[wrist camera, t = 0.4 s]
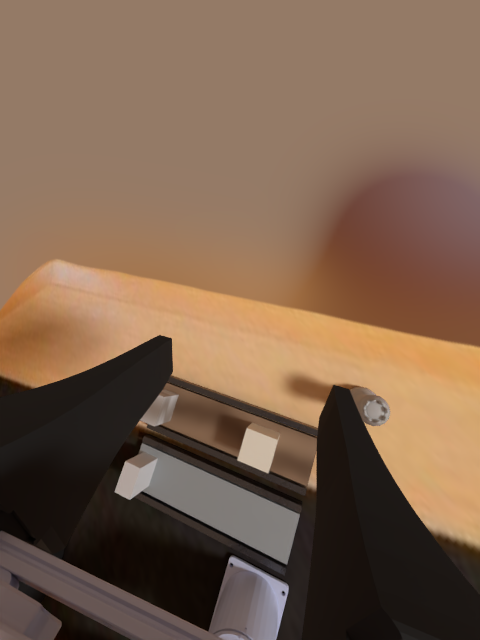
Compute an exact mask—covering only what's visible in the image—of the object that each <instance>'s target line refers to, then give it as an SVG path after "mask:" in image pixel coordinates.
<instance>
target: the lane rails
mask: <svg viewBox="0 0 480 640" xmlns="http://www.w3.org/2000/svg"><path fill="white" fill-rule="evenodd" d="M168 382H171V383H173V384H176V385H179V386H182V387H184V388H187V389H190V390H192V391H195V392H198V393H201V394H203V395H206V396H209V397H211V398H214V399H217V400H220V401H222V402H225V403H228V404H230V405H233V406H236V407H239V408H241V409H244V410H247V411H249V412H252V413H255V414H258V415H260V416H263V417H266V418H268V419H271V420H274V421H277V422H279V423H282V424H285V425H287V426H290V427H293V428H296V429H298V430H301V431H304V432H306V433H309V434H312V435H315V436H317V434H318V428H316V427H313V426H310V425H308V424H305V423H302V422H299V421H296V420H294V419H291V418H288V417H285V416H283V415H280V414H277V413H274V412H271V411H269V410H266V409H263V408H260V407H258V406H255V405H252V404H249V403H246V402H244V401H241V400H238V399H235V398H233V397H230V396H227V395H224V394H221V393H219V392H216V391H213V390H210V389H208V388H205V387H202V386H199V385H196V384H194V383H191V382H188V381H185V380H183V379H180V378H177V377H174V376H170V378H169V380H168ZM147 428H149V429H151V430H154V431H156V432H158V433H161V434H163V435H165V436H168V437H170V438H172V439H175V440H177V441H179V442H182V443H184V444H186V445H188V446H191V447H193V448H195V449H198V450H200V451H202V452H205V453H207V454H209V455H212V456H214V457H216V458H219V459H221V460H223V461H225V462H228V463H230V464H232V465H235V466H237V467H239V468H242V469H244V470H246V471H249V472H251V473H253V474H256V475H258V476H260V477H263V478H265V479H267V480H269V481H272V482H274V483H276V484H279V485H281V486H283V487H286V488H288V489H290V490H293V491H295V492H297V493H300V494H302V495H304V496H305V493H306V486H305V485H303V484H300V483H298V482H296V481H293V480H291V479H289V478H286V477H284V476H281V475H279V474H277V473H274V472H272V471H270V470H269V473H266V472H264V471H261V470H259V469H256V468H254V467H252V466H249V465H247V464H245V463H242V462H240V461H238V460H237V459H238V457H236V456H234V455H232V454H229V453H227V452H225V451H222V450H220V449H217V448H215V447H213V446H210V445H208V444H206V443H203V442H201V441H199V440H196V439H194V438H191V437H189V436H187V435H184V434H182V433H180V432H177V431H175V430H172V429H170V428H168V427H165V426H163V425H161V424H160V425H157V426H155V427H154V426H152V425H150V424H148V425H147ZM142 442H144V443H147V444H149V445H151V446H153V447H155V448H158V449H160V450H162V451H164V452H167V453H169V454H171V455H173V456H175V457H178V458H180V459H182V460H184V461H187V462H189V463H191V464H193V465H195V466H198V467H200V468H202V469H204V470H206V471H209V472H211V473H213V474H215V475H218V476H220V477H222V478H224V479H226V480H229V481H231V482H233V483H235V484H237V485H240V486H242V487H244V488H246V489H249V490H251V491H253V492H255V493H257V494H260V495H262V496H264V497H266V498H268V499H271V500H273V501H275V502H277V503H280V504H282V505H284V506H286V507H288V508H291V509H293V510H295V511H297V512H299V513H301V509H302V501H300V500H298V499H296V498H293V497H291V496H289V495H286V494H284V493H282V492H280V491H277V490H275V489H273V488H271V487H268V486H266V485H264V484H261V483H259V482H257V481H255V480H252V479H250V478H248V477H245V476H243V475H241V474H239V473H236V472H234V471H232V470H230V469H227V468H225V467H223V466H220V465H218V464H216V463H214V462H211V461H209V460H207V459H204V458H202V457H200V456H198V455H195V454H193V453H191V452H189V451H186V450H184V449H182V448H179V447H177V446H175V445H173V444H170V443H168V442H166V441H163V440H161V439H159V438H157V437H154V436H152V435H150V434H148V435H145V436H144V437H143V440H142ZM134 497H135V498H137V499H139V500H141V501H143V502H145V503H147V504H149V505H151V506H152V507H154V508H156V509H158V510H160V511H162V512H164V513H166V514H168V515H170V516H172V517H173V518H175V519H177V520H179V521H181V522H183V523H185V524H187V525H189V526H191V527H193V528H195V529H196V530H198V531H200V532H202V533H204V534H206V535H208V536H210V537H212V538H214V539H216V540H217V541H219V542H221V543H223V544H225V545H227V546H229V547H231V548H233V549H235V550H237V551H239V552H240V553H242V554H244V555H246V556H248V557H250V558H252V559H254V560H256V561H258V562H260V563H261V564H263V565H265V566H267V567H269V568H271V569H273V570H275V571H277V572H279V573H281V574H283V575H285V571H286V564H284V563H282V562H280V561H278V560H276V559H274V558H273V557H271V556H269V555H267V554H265V553H263V552H261V551H259V550H257V549H255V548H253V547H251V546H249V545H247V544H245V543H243V542H241V541H239V540H237V539H235V538H233V537H231V536H229V535H227V534H226V533H224V532H222V531H220V530H218V529H216V528H214V527H212V526H210V525H208V524H206V523H204V522H202V521H200V520H198V519H196V518H194V517H192V516H190V515H188V514H186V513H184V512H182V511H180V510H179V509H177V508H175V507H173V506H171V505H169V504H167V503H165V502H163V501H161V500H159V499H157V498H155V497H153V496H151V495H149V494H147V493H145V492H143V491H141V492H140V493H139V494H137V495H136V496H134Z"/></svg>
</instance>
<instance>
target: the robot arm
mask: <svg viewBox="0 0 480 640" xmlns="http://www.w3.org/2000/svg"><path fill="white" fill-rule="evenodd" d="M172 372H173V361H172V338H168V337H165V336H161V335H159V336H157V337H155V338H153V339H151V340H149V341H147V342H145V343H143V344H141V345H139V346H137V347H135V348H134V349H132V350H130V351H128V352H126V353H124V354H122V355H120V356H118V357H116V358H114V359H111V360H109V361H107V362H105V363H103V364H100V365H98V366H96V367H94V368H92V369H89V370H87V371H84V372H82V373H79V374H77V375H74V376H71V377H69V378H66V379H63V380H60V381H57V382H54V383H51V384H47V385H44V386H41V387H38V388H35V389H31V390H28V391H24V392H20V393H16V394H12V395H8V396H4V397H0V640H54V638H55V637H56V635H57V633H58V631H59V630H60V628H61V626H62V622H61V621H60V620H59V619H57V618H56V617H54V616H53V615H52V614H50V613H49V612H48V611H47V610H46V609H44V608H43V606H42V605H41V604H40V603H39V602H37V601H36V600H34V599H32V598H31V597H29V596H27V595H26V594H24V593H22V592H21V591H19V590H18V588H19V581H21V582H23V583H25V584H27V585H29V586H31V587H33V588H34V589H36V590H38V591H40V592H42V593H44V594H46V595H48V596H50V597H52V598H53V599H55V600H57V601H59V602H61V603H63V604H65V605H67V606H69V607H71V608H73V609H74V610H76V611H78V612H80V613H82V614H84V615H86V616H88V617H90V618H92V619H93V620H95V621H97V622H99V623H101V624H103V625H105V626H107V627H109V628H111V629H112V630H114V631H116V632H118V633H120V634H122V635H124V636H126V637H128V638H130V639H132V640H276V638H277V634H278V630H279V626H280V622H281V618H282V614H283V610H284V606H285V602H286V598H287V594H288V589H289V587H288V584H287V583H285V582H283V581H281V580H280V579H278V578H276V577H274V576H272V575H270V574H268V573H266V572H264V571H263V570H261V569H259V568H257V567H255V566H253V565H251V564H249V563H247V562H246V561H244V560H242V559H240V558H238V557H236V556H234V555H231V556H230V558H229V561H228V565H227V568H226V572H225V575H224V579H223V582H222V586H221V589H220V593H219V596H218V600H217V603H216V607H215V610H214V614H213V617H212V621H211V624H210V628H209V631H208V632H207V631H205V630H203V629H201V628H199V627H197V626H195V625H193V624H191V623H189V622H187V621H185V620H183V619H181V618H179V617H177V616H175V615H173V614H171V613H169V612H167V611H165V610H163V609H161V608H158V607H156V606H154V605H152V604H150V603H148V602H146V601H144V600H142V599H140V598H138V597H136V596H134V595H132V594H130V593H128V592H126V591H124V590H122V589H120V588H118V587H116V586H114V585H112V584H110V583H108V582H106V581H103V580H101V579H99V578H97V577H95V576H93V575H91V574H89V573H87V572H85V571H83V570H81V569H79V568H77V567H75V566H73V565H71V564H69V563H67V562H65V561H63V560H61V559H59V558H57V557H55V556H53V555H51V554H54V553H57V552H59V551H61V550H63V549H64V548H66V546H67V544H68V542H69V540H70V538H71V536H72V534H73V532H74V530H75V528H76V526H77V524H78V522H79V520H80V518H81V516H82V514H83V512H84V511H85V509H86V507H87V505H88V503H89V501H90V500H91V498H92V496H93V494H94V492H95V491H96V489H97V487H98V485H99V483H100V482H101V480H102V478H103V476H104V475H105V473H106V471H107V470H108V468H109V466H110V464H111V463H112V461H113V459H114V458H115V456H116V454H117V453H118V451H119V450H120V448H121V446H122V445H123V443H124V441H125V440H126V438H127V437H128V436H129V434H130V433H131V431H132V430H133V429H134V427H135V426H136V425H137V423H138V422H139V421H140V419H141V418H142V417H143V415H144V414H145V413H146V411H147V410H148V409H149V408H150V406H151V405H152V404H153V402H154V401H155V400H156V398H157V397H158V396H159V394H160V393H161V391H162V390H163V388H164V387H165V385H166V383H167V381H168V380H169V378H170V376H171V374H172ZM25 541H26V542H28V543H30V544H32V545H34V546H37V547H39V548H41V549H43V550H45V551H47V552H49V553H51V554H48V553H46V552H44V551H42V550H40V549H38V548H36V547H34V546H32V545H30V544H28V543H26V542H25ZM230 563H232V564H233V566H232V565H231V564H230ZM18 580H19V581H18ZM282 591H284V592H285V593H282ZM302 640H480V595H479V594H478V592H477V591H476V590H475V589H474V588H473V587H472V585H471V584H470V583H469V582H468V581H467V579H466V578H465V577H464V576H463V574H462V573H461V572H460V571H459V569H458V568H457V567H456V566H455V564H454V563H453V562H452V561H451V559H450V558H449V557H448V556H447V554H446V553H445V552H444V551H443V549H442V548H441V547H440V545H439V544H438V543H437V541H436V540H435V539H434V537H433V536H432V535H431V533H430V532H429V530H428V529H427V528H426V526H425V525H424V524H423V522H422V521H421V520H420V518H419V517H418V515H417V514H416V513H415V511H414V510H413V508H412V507H411V505H410V504H409V502H408V501H407V499H406V498H405V496H404V495H403V493H402V492H401V490H400V488H399V487H398V485H397V484H396V482H395V480H394V479H393V477H392V475H391V474H390V472H389V470H388V469H387V467H386V465H385V463H384V461H383V460H382V458H381V456H380V454H379V452H378V450H377V449H376V447H375V445H374V443H373V441H372V439H371V437H370V435H369V433H368V431H367V428H366V426H365V424H364V422H363V420H362V418H361V415H360V413H359V411H358V408H357V406H356V404H355V401H354V399H353V396H352V394H351V392H350V390H349V389H346V388H343V387H339V386H336V385H333V387H332V390H331V392H330V394H329V397H328V399H327V401H326V404H325V406H324V408H323V411H322V413H321V415H320V418H319V426H318V434H317V502H316V518H315V529H314V540H313V549H312V559H311V568H310V577H309V586H308V594H307V602H306V610H305V618H304V625H303V633H302Z"/></svg>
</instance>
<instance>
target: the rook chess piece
mask: <svg viewBox="0 0 480 640" xmlns="http://www.w3.org/2000/svg"><path fill="white" fill-rule="evenodd" d="M350 392H351V394H352V396H353V399H354V401H355V404H356V406H357V408H358V411H359V413H360V415H361V418H362V420H363V422H365V423H367V424H369V425H372V426H380V425H382V424H384V423H386V421H387V420H388V419H389V416H390V409H389V405H388V404H387V402H386V401H385V400H384V399H383V398H381V397H379V396H376V394H375V393H373V392H372V391H371V390H369V389H367V388H364V387H354V388H352V389H350Z"/></svg>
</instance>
